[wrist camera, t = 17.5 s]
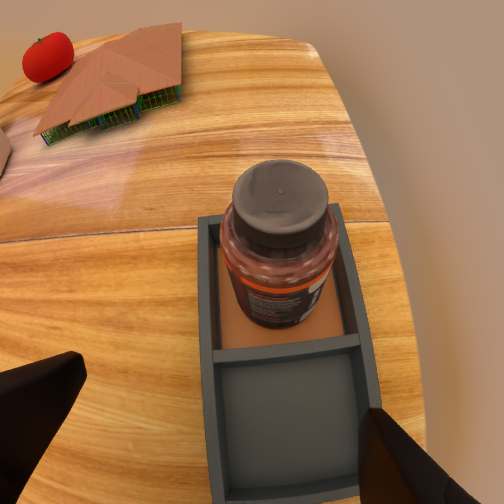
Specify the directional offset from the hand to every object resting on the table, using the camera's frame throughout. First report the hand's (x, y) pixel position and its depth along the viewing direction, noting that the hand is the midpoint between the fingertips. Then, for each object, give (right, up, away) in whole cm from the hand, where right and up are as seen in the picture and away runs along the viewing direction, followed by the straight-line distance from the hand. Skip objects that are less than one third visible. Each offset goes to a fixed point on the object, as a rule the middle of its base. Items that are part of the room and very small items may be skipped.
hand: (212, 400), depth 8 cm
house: (-21, +33, +34) cm, 52 cm away
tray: (+3, -3, +12) cm, 13 cm away
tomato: (-46, +46, +43) cm, 78 cm away
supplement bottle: (+3, +1, +14) cm, 15 cm away
